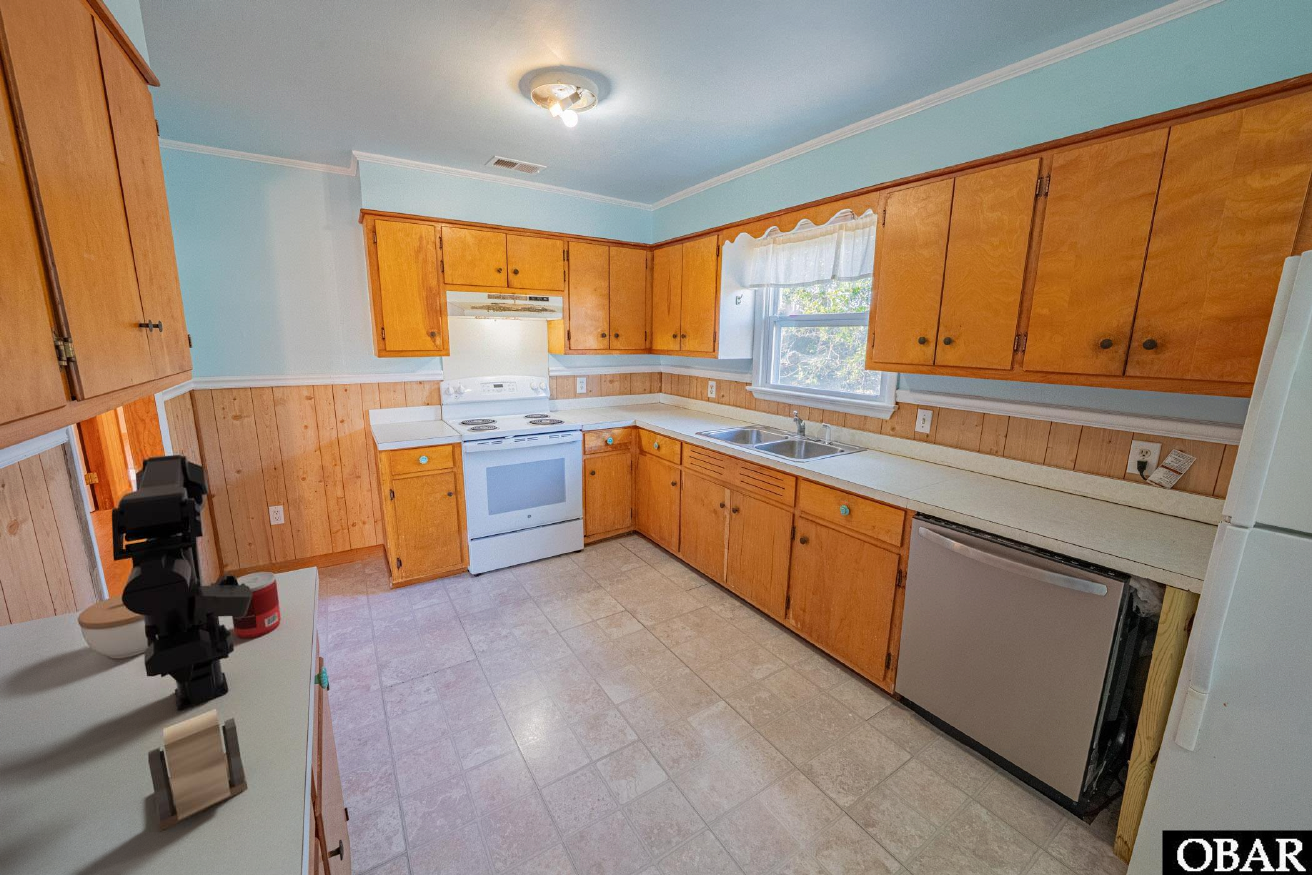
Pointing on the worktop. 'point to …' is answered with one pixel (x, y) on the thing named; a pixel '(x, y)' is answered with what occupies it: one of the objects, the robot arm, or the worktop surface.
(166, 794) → the wooden phone stand
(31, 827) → the worktop surface
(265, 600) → the canned food
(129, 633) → the lidded bowl
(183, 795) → the curved wooden panel
